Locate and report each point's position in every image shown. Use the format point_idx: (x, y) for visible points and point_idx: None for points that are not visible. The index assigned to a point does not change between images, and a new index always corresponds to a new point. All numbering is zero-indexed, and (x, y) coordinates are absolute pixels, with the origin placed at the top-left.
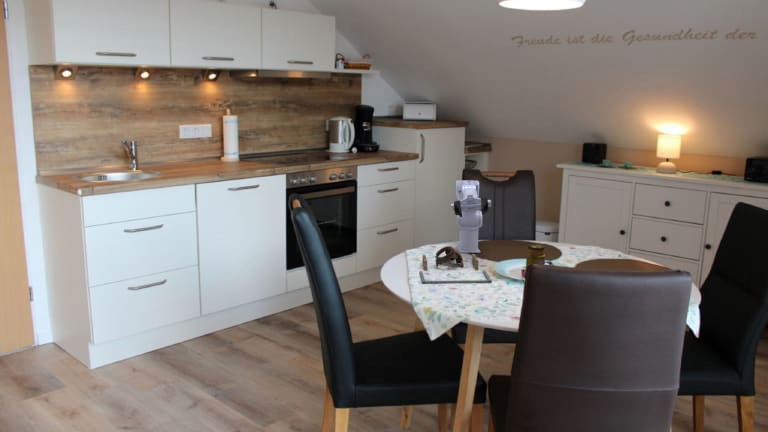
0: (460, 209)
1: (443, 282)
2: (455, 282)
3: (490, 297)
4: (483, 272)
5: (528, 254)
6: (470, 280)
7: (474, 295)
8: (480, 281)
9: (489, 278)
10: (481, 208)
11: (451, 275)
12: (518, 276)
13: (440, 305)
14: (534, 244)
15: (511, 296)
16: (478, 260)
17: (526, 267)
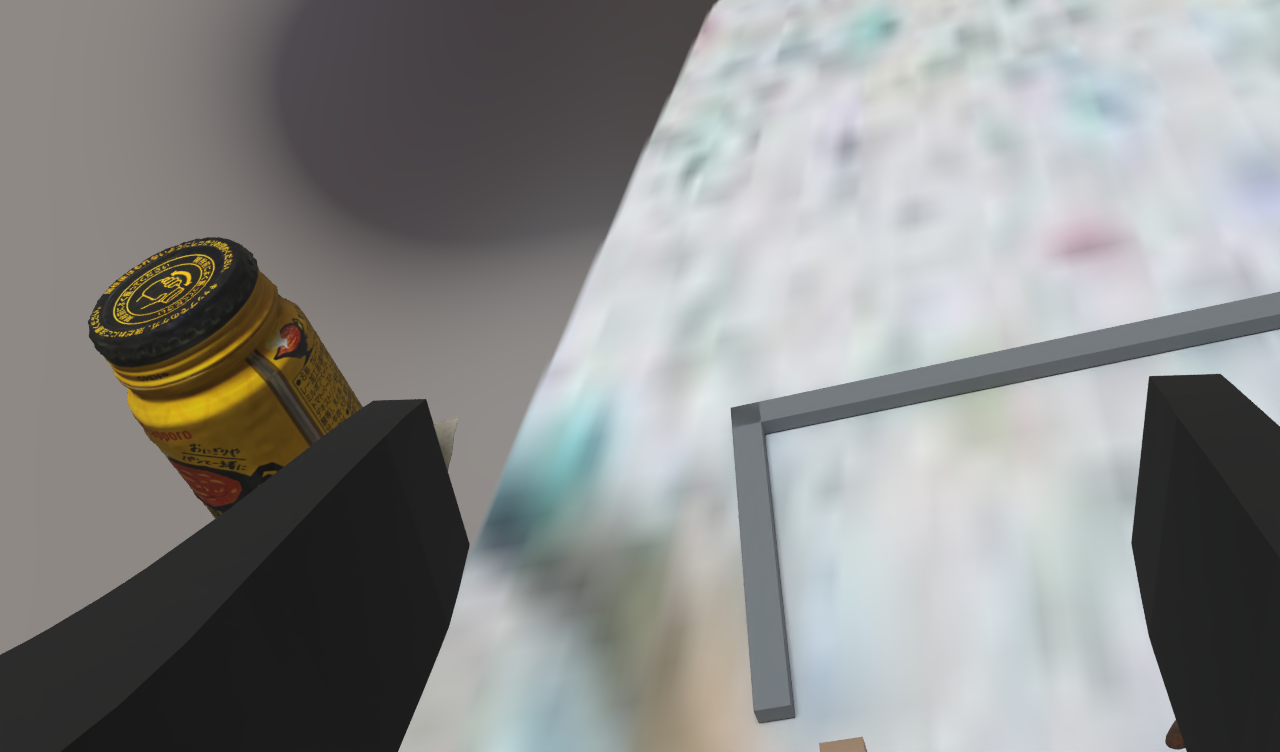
0: (1240, 441)
1: (1217, 312)
2: (1089, 339)
3: (785, 181)
4: (785, 650)
5: (291, 316)
6: (937, 384)
7: (898, 180)
8: (838, 387)
9: (742, 466)
10: (392, 421)
11: None
12: None
13: (1122, 16)
14: (138, 334)
15: (640, 226)
16: (820, 746)
17: None
